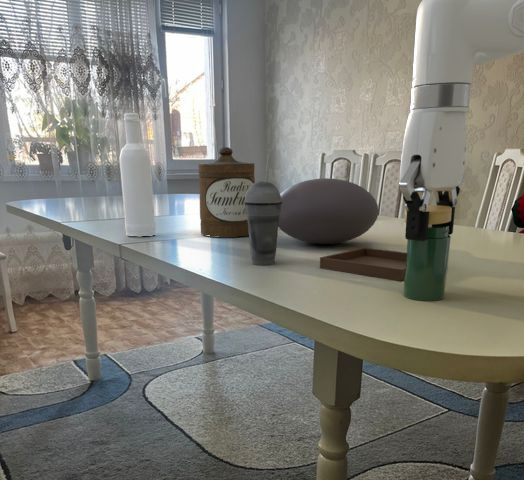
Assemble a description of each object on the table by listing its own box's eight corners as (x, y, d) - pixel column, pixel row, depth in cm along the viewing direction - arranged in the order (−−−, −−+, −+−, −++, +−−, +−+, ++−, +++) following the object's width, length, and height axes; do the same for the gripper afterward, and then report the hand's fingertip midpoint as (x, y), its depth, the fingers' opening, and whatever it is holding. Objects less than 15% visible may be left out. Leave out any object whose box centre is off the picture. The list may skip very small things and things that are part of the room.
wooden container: (211, 239, 137) (207, 146, 130) (194, 232, 150) (189, 147, 143) (264, 235, 143) (264, 146, 135) (243, 229, 156) (242, 147, 148)
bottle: (122, 237, 141) (110, 112, 131) (130, 233, 149) (119, 114, 139) (152, 237, 141) (143, 112, 131) (159, 233, 149) (150, 114, 138)
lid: (395, 223, 79) (395, 210, 78) (420, 216, 83) (420, 204, 82) (435, 226, 74) (435, 212, 74) (459, 219, 78) (460, 206, 77)
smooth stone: (377, 253, 117) (382, 181, 112) (263, 250, 121) (263, 181, 116) (375, 236, 140) (379, 176, 135) (280, 234, 144) (280, 176, 139)
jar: (450, 294, 83) (458, 224, 79) (434, 303, 78) (442, 229, 74) (413, 288, 86) (419, 221, 82) (396, 296, 82) (401, 226, 78)
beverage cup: (252, 258, 112) (251, 156, 105) (286, 260, 110) (287, 155, 103) (239, 265, 105) (237, 156, 99) (275, 267, 103) (275, 156, 96)
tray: (441, 267, 102) (442, 257, 101) (401, 281, 92) (402, 269, 91) (363, 257, 113) (364, 247, 112) (319, 267, 103) (319, 257, 102)
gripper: (446, 106, 81) (436, 228, 87) (379, 101, 70) (372, 242, 76) (496, 102, 76) (481, 232, 82) (432, 96, 64) (420, 247, 71)
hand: (429, 235), depth 79 cm, fingers closed on lid, 6 cm apart
